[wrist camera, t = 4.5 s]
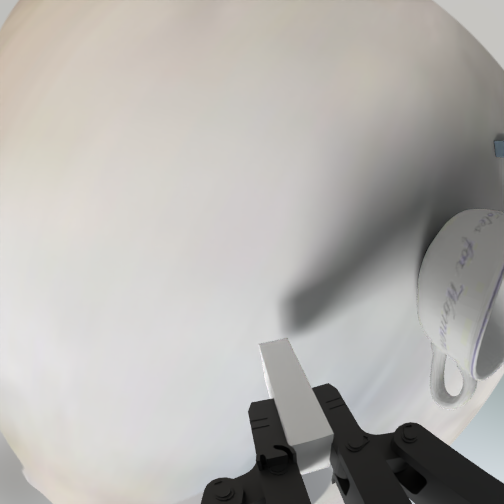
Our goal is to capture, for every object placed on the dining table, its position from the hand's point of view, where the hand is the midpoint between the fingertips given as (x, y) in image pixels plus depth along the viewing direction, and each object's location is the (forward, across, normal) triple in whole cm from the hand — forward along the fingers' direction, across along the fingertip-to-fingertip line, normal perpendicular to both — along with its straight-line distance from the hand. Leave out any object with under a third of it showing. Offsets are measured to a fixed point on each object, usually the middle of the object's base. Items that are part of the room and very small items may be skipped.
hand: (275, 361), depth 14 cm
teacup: (+3, +14, 0) cm, 14 cm away
